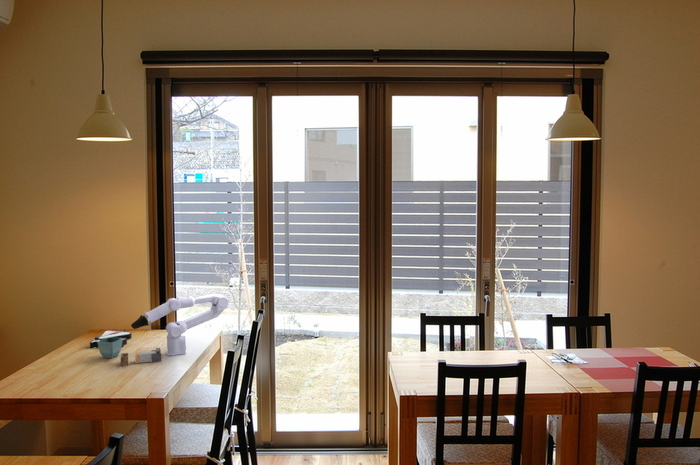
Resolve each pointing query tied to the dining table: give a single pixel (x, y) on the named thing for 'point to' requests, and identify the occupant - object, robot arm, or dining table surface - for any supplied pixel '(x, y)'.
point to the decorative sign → (112, 334)
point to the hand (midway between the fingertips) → (132, 327)
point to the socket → (124, 359)
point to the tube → (144, 356)
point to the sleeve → (156, 355)
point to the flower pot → (110, 347)
